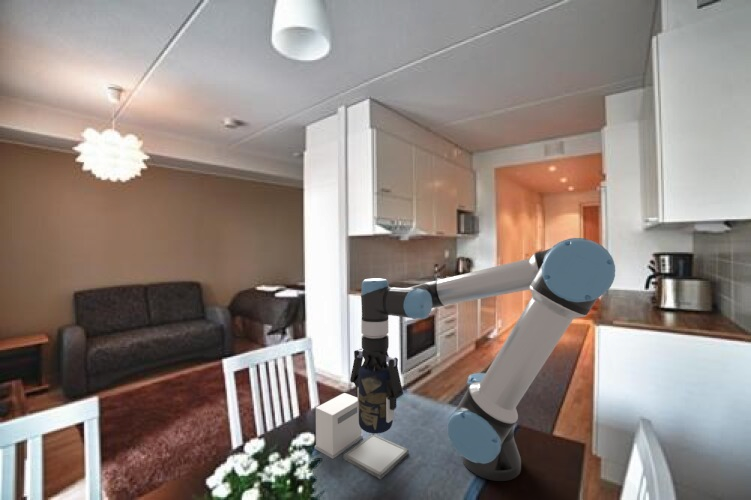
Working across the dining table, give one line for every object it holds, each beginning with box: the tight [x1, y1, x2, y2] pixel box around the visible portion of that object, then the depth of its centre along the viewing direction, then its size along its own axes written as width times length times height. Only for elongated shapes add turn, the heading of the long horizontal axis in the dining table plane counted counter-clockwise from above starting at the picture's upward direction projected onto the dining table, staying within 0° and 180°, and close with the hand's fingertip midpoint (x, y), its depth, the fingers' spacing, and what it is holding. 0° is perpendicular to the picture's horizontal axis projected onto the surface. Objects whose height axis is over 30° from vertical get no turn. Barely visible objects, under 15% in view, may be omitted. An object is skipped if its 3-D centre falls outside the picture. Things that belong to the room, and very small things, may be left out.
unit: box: [314, 392, 364, 460], centre depth 97 cm, size 8×13×12 cm, turn 142°
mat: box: [342, 433, 410, 480], centre depth 91 cm, size 13×13×1 cm
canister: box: [357, 365, 394, 435], centre depth 91 cm, size 10×10×18 cm
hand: (375, 414), depth 91 cm, fingers closed on canister, 9 cm apart
